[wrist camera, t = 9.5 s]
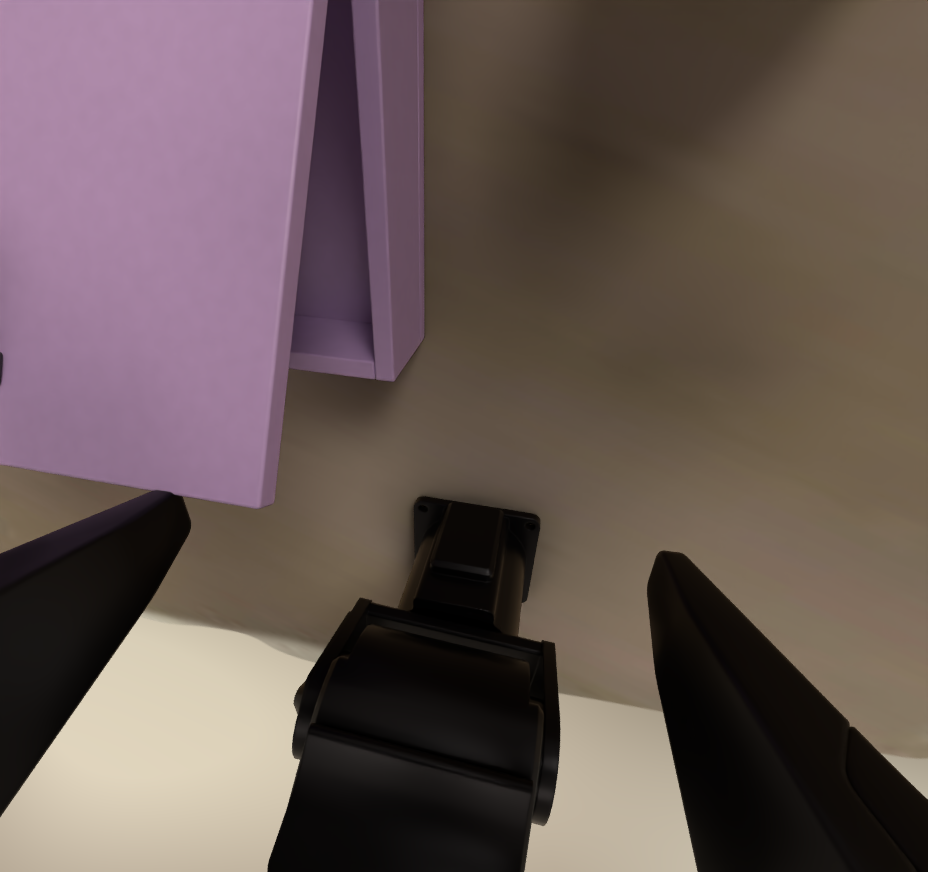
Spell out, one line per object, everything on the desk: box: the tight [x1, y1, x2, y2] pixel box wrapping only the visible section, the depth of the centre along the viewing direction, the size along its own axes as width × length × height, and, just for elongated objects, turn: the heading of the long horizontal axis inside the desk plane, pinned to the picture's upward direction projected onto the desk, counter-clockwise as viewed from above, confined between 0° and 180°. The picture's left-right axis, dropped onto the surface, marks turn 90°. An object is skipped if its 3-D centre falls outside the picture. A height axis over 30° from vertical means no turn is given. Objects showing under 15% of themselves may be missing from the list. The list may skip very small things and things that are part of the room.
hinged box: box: [289, 0, 424, 382], centre depth 15 cm, size 14×16×4 cm
